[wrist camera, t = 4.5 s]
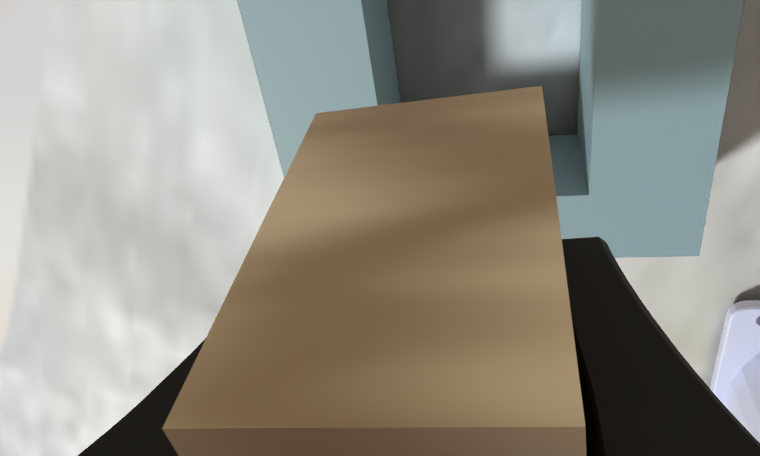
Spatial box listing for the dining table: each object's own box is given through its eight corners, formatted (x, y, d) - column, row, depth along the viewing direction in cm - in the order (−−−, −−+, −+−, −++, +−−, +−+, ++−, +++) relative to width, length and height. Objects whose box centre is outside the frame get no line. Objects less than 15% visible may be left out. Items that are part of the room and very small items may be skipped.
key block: (542, 85, 10) (584, 425, 5) (557, 329, 12) (593, 695, 8) (315, 112, 10) (161, 428, 6) (378, 335, 13) (311, 671, 8)
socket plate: (733, -248, 13) (788, -245, 10) (673, 189, 18) (699, 255, 16) (246, -170, 15) (196, -152, 12) (329, 202, 20) (306, 263, 18)
